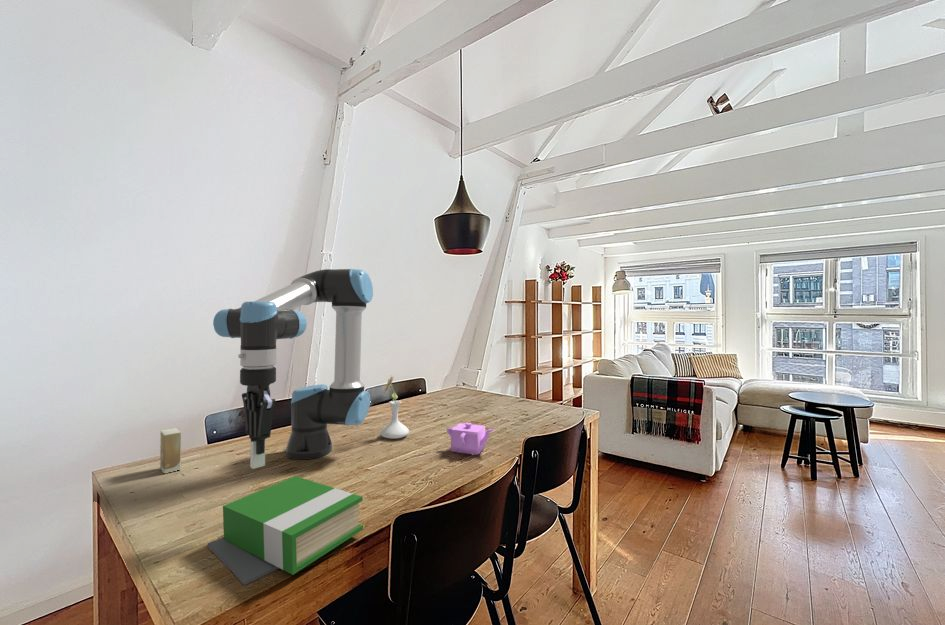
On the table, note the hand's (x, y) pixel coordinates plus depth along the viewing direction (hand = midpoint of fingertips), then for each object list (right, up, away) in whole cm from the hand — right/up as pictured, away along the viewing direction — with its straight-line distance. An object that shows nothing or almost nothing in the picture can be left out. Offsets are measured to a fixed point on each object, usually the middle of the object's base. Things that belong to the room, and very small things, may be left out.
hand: (257, 466), depth 95 cm
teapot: (+50, -14, +49) cm, 71 cm away
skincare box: (-44, -13, +30) cm, 55 cm away
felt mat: (+8, -14, -6) cm, 17 cm away
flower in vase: (+20, -13, +64) cm, 68 cm away
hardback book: (+1, -9, 0) cm, 9 cm away
